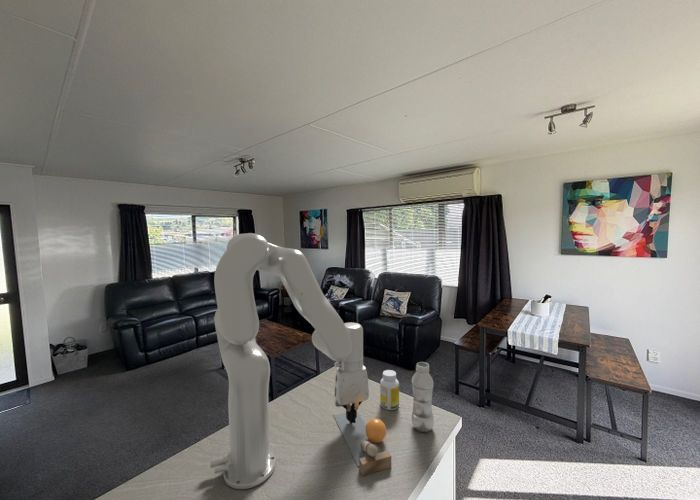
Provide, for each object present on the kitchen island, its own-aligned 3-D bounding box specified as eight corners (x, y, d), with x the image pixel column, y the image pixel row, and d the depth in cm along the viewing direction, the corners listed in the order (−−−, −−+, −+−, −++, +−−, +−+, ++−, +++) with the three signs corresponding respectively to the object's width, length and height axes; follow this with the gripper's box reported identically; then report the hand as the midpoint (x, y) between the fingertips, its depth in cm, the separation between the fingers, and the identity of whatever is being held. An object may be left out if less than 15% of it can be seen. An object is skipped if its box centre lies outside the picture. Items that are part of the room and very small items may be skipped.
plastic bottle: (434, 436, 84) (435, 370, 83) (411, 433, 85) (411, 368, 84) (432, 422, 90) (433, 360, 89) (411, 420, 92) (411, 359, 91)
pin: (361, 452, 78) (369, 458, 71) (358, 441, 79) (367, 446, 72) (369, 449, 79) (379, 454, 72) (367, 438, 80) (376, 443, 73)
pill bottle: (401, 403, 101) (402, 371, 100) (394, 413, 95) (394, 379, 95) (385, 398, 104) (385, 367, 103) (377, 407, 99) (377, 374, 98)
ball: (379, 413, 82) (360, 419, 83) (384, 438, 78) (364, 444, 79) (386, 418, 86) (368, 423, 87) (391, 441, 82) (372, 446, 83)
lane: (357, 466, 73) (357, 466, 73) (333, 416, 94) (333, 415, 94) (386, 458, 76) (386, 457, 76) (356, 410, 97) (356, 410, 97)
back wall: (362, 476, 70) (362, 464, 70) (359, 470, 72) (359, 458, 72) (391, 467, 73) (391, 455, 73) (387, 461, 75) (387, 450, 75)
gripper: (331, 373, 83) (331, 434, 83) (378, 364, 88) (378, 422, 88) (324, 362, 90) (325, 418, 91) (368, 355, 95) (368, 409, 96)
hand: (351, 420), depth 89 cm, fingers closed
